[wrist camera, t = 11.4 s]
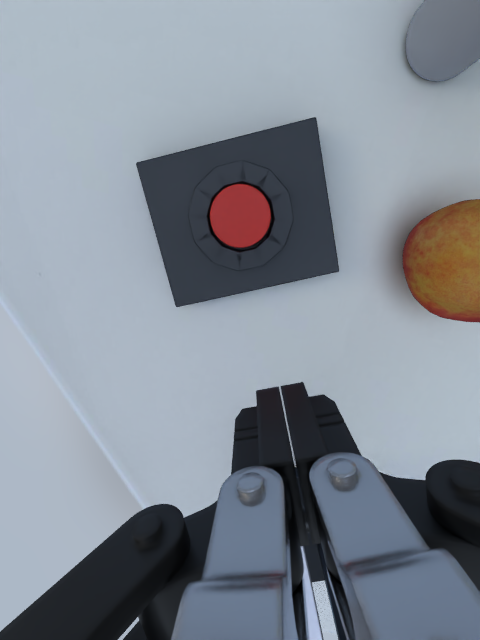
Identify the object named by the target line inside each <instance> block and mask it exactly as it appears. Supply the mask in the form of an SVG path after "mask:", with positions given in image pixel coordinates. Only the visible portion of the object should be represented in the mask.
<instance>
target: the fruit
mask: <svg viewBox="0 0 480 640" xmlns="http://www.w3.org/2000/svg"><path fill="white" fill-rule="evenodd" d="M403 269H404V273H405V278H406V281H407V283H408V286H409V289H410V291H411V293H412V295H413V296H414V298H415V299H416V300H417V301H418V302H419V303H420V304H421V305H422V306H423V307H424V308H426V309H427V310H428V311H429V312H431V313H433V314H435V315H438V316H440V317H442V318H447V319H452V320H458V321H465V322H480V199H476V200H467V201H462V202H458V203H455V204H452V205H450V206H447V207H445V208H442V209H440V210H438V211H436V212H434V213H432V214H431V215H429V216H427V217H426V218H424V219H423V220H421V221H420V222H419V223H418V224H417V225H416V226H415V227H414V228H413V230H412V231H411V232H410V233H409V236H408V238H407V240H406V243H405V246H404V250H403Z"/></svg>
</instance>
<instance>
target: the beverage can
mask: <svg viewBox="0 0 480 640" xmlns="http://www.w3.org/2000/svg"><path fill="white" fill-rule="evenodd" d="M406 53H407V59H408V61H409V63H410V66H411V68H412V69H413V70H414V71H415V72H416V73H417V74H418V75H419V76H421V77H423V78H424V79H426V80H431V81H445V80H448V79H450V78H453V77H455V76H457V75H458V74H460V73H461V72H462V71H464V70H465V69H466V68H468V67H469V66H470V65H472V64H473V63H474V62H476V61H477V60H478V59H480V0H425V1H424V2H423V3H422V5H421V6H420V7H419V9H418V10H417V11H416V13H415V14H414V16H413V18H412V21H411V23H410V25H409V29H408V33H407V39H406Z"/></svg>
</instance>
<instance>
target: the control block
mask: <svg viewBox="0 0 480 640" xmlns="http://www.w3.org/2000/svg"><path fill="white" fill-rule="evenodd" d="M136 165H137V169H138V172H139V176H140V179H141V183H142V187H143V190H144V194H145V197H146V201H147V204H148V208H149V212H150V215H151V219H152V222H153V226H154V230H155V233H156V237H157V240H158V244H159V247H160V251H161V255H162V258H163V262H164V265H165V269H166V273H167V276H168V280H169V283H170V287H171V290H172V294H173V298H174V301H175V305H176V307H180V306H185V305H189V304H194V303H198V302H203V301H207V300H212V299H216V298H221V297H226V296H230V295H235V294H239V293H244V292H248V291H253V290H257V289H262V288H266V287H271V286H275V285H280V284H284V283H289V282H294V281H298V280H303V279H307V278H312V277H316V276H321V275H325V274H330V273H334V272H338V271H339V266H338V259H337V253H336V246H335V240H334V233H333V226H332V220H331V213H330V206H329V200H328V193H327V187H326V180H325V173H324V167H323V160H322V154H321V147H320V140H319V134H318V127H317V121H316V118H315V117H314V118H310V119H306V120H302V121H298V122H294V123H290V124H287V125H283V126H279V127H275V128H271V129H267V130H263V131H259V132H255V133H251V134H247V135H243V136H239V137H236V138H232V139H228V140H224V141H220V142H216V143H212V144H208V145H204V146H200V147H196V148H192V149H188V150H185V151H181V152H177V153H173V154H169V155H165V156H161V157H157V158H153V159H149V160H145V161H141V162H137V163H136ZM235 184H246V185H250V186H252V187H254V188H256V189H258V190H259V191H260V192H261V193H262V194H263V195H264V196H265V198H266V199H267V201H268V204H269V207H270V211H271V220H270V225H269V228H268V230H267V232H266V234H265V235H264V237H263V238H262V239H261V240H260V241H258V242H257V243H255V244H254V245H251V246H248V247H243V248H238V247H232V246H229V245H227V244H225V243H224V242H222V241H221V240H220V239H219V238H218V237H217V236H216V234H215V233H214V231H213V229H212V226H211V222H210V210H211V206H212V203H213V201H214V199H215V198H216V196H217V195H218V194H219V193H220V192H221V191H222V190H223V189H225V188H226V187H228V186H231V185H235Z"/></svg>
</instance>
